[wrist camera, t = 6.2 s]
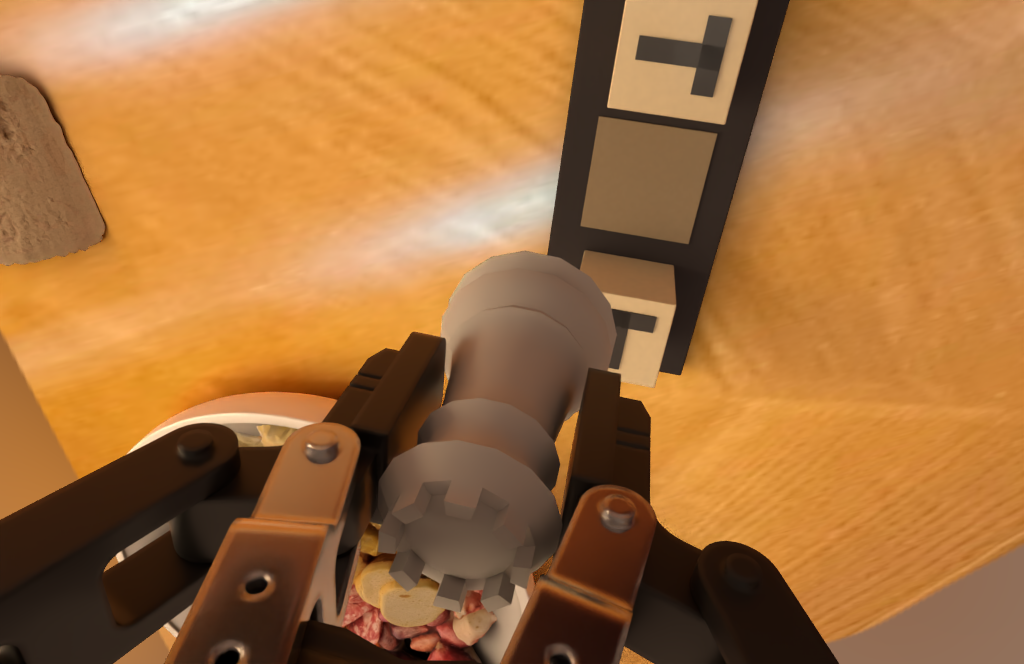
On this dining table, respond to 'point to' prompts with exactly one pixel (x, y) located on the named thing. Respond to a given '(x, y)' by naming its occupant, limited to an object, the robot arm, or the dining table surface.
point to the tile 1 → (635, 311)
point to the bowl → (374, 594)
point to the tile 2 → (680, 57)
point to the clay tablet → (39, 182)
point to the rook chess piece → (495, 430)
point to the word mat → (653, 168)
